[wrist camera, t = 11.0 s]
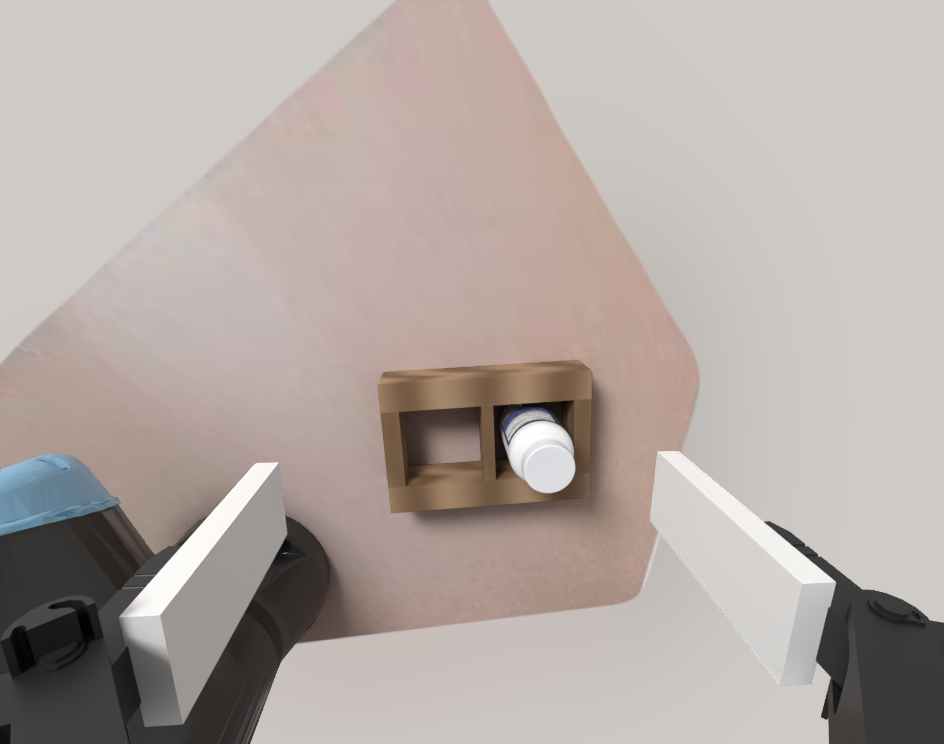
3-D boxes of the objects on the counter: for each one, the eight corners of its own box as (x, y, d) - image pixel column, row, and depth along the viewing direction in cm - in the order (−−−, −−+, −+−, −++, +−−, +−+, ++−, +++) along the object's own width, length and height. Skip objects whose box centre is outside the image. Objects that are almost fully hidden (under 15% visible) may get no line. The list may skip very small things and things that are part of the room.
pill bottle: (554, 447, 44) (584, 499, 35) (499, 451, 44) (515, 505, 34) (553, 394, 43) (585, 434, 33) (497, 398, 42) (513, 439, 33)
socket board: (395, 490, 44) (391, 513, 40) (383, 372, 41) (377, 384, 37) (576, 476, 45) (589, 497, 41) (578, 360, 42) (592, 370, 38)
